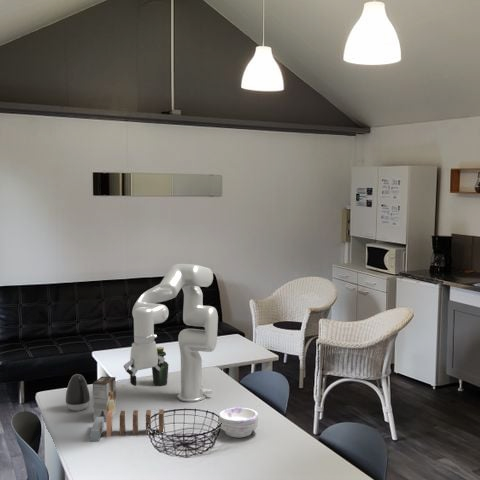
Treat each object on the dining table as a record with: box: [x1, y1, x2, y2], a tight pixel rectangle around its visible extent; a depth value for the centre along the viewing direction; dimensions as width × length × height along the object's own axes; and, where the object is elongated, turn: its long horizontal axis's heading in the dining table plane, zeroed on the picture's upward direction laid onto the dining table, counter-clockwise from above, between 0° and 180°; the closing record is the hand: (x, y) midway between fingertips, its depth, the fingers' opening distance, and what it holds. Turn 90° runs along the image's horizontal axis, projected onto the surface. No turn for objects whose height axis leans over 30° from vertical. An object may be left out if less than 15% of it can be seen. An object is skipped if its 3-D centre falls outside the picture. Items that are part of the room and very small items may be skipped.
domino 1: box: [105, 411, 113, 437], centre depth 235 cm, size 2×5×8 cm, turn 5°
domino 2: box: [119, 410, 126, 437], centre depth 236 cm, size 2×5×8 cm, turn 5°
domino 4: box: [145, 409, 152, 436], centre depth 236 cm, size 2×5×8 cm, turn 5°
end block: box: [90, 417, 105, 442], centre depth 235 cm, size 3×14×4 cm, turn 5°
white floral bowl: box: [218, 407, 259, 439], centre depth 235 cm, size 15×15×8 cm
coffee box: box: [92, 376, 117, 422], centre depth 251 cm, size 9×6×16 cm
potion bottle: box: [151, 346, 169, 387], centre depth 294 cm, size 8×8×18 cm
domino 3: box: [132, 409, 139, 436], centre depth 236 cm, size 2×5×8 cm, turn 5°
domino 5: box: [158, 408, 165, 433], centre depth 237 cm, size 2×5×8 cm, turn 5°
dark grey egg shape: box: [65, 373, 91, 412], centre depth 261 cm, size 10×10×15 cm
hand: (144, 382), depth 235 cm, fingers open, 9 cm apart
